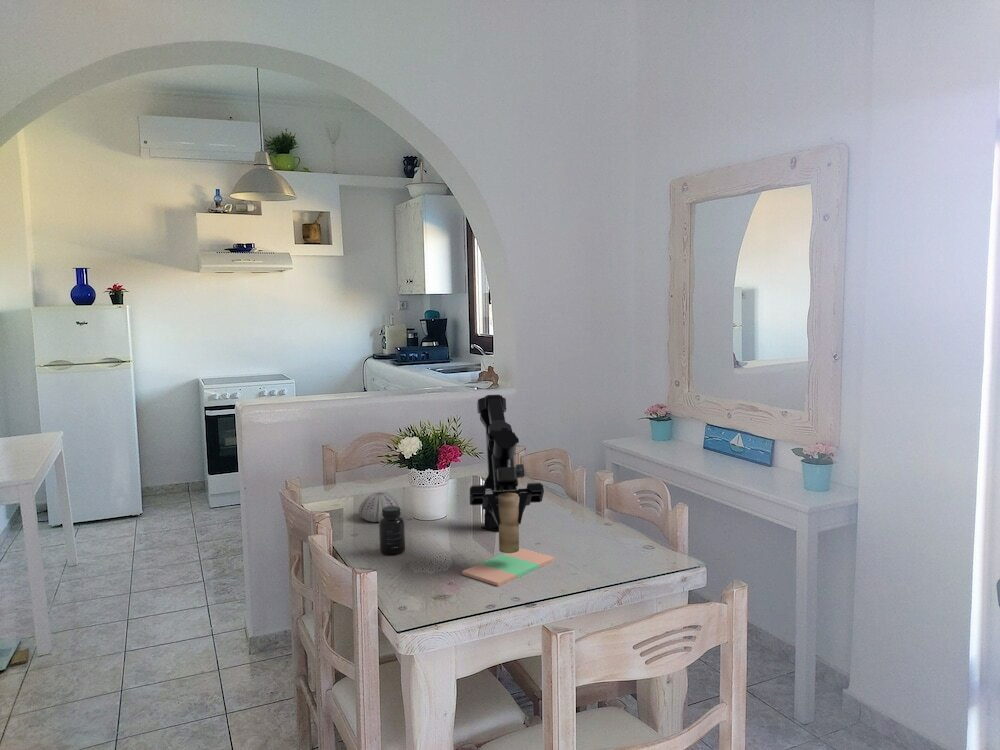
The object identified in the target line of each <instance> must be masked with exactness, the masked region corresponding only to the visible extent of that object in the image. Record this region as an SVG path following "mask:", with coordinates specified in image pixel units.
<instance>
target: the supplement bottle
mask: <svg viewBox="0 0 1000 750" xmlns="http://www.w3.org/2000/svg"><path fill="white" fill-rule="evenodd" d="M401 515H402V511H401V512H400V507H397V506H388V507H384V508H383V509H382V516H383V518H381V519H380V521H379V522H378V534H379V536H378V537H379V538H378V539H379V552H380V553H381V555H384V556H391V557H392V556H398V555H400V554H403V553H404V552H405V551H406V531H405V530H406V528H405V519H404V518H403V517H402V516H401Z"/></svg>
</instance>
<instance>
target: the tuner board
mask: <svg viewBox="0 0 1000 750" xmlns="http://www.w3.org/2000/svg"><path fill="white" fill-rule="evenodd" d="M555 560H556V557H554V556H552V555H549V554H544V553H541V552H540V553H539V552H538V551H537V552H536V551H532V550H529V549H525V548H521V547H519V551H518V552H515V553H503V554H500V555H498V556H496V557H495V556H494V557H492V558H490V559H488V560H485V561H483V562H480V563H478V564H475V565H474V566H471V567H469V568H468V567H467V568H466V569H464V570H461V575H462V576H463V575H464V576H466V577H469V578H472V579H474V580H475V579H476V580H477V581H481V582H484V583H488V584H491V585H494V586H497V587H500V586H502V585H504V584H507V583H508V582H509V583H510V582H511V581H512V580H515V579H517V578H519V577H522V576H525V575H526V574H528V573H531V572H532V571H535V570H537V569H539V568H541V567H543V566H545V565H548V564H550V563H552V562H555Z"/></svg>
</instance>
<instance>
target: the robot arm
mask: <svg viewBox="0 0 1000 750" xmlns="http://www.w3.org/2000/svg"><path fill="white" fill-rule="evenodd" d="M506 398H507V397H503V395H501V394H487V395H484V397H481V398H478V399H477V403H476V411H477V414H479V420H480V422H481V423H482V425H483V426H484V428H485V443H486V445H485V446H486V460H487V463H486V464H487V477H486V478H485V481H484V483H483V484H481V485H479V484H477V485H476V484H475V485H471V486H470V487H469V495H468V496H469V505H470V506H481V508H482V510H484V518H483V519H484V524H482V525H481V527H480V528H482V529H486V530H489V531H493V532H499V510H498V495H499V494H501V493H516V494H518V508H519V525H521V524H522V519H523V516H524V511H525V510H526V507H528V506H530V505H531V503H532V504H533V503H534V504H535V503H541V502H543V497H544V493H545V490H544V485H543V484H542V483H541V482H528V483H527V485H526V488H518V486H519V480H518V479H523V478H525V474H526V473H525V466H524V465H525V464H523V463H522V464H521V463H520V464H516V465H515V461H514V460H515V459H514V457H515V455H516V449H517V445H518V444H519V443H520V440H519V437H518V436H517V435H516V432H514V431H513V428H512V426H511V424H510V423H508V422H507V421H506V418H505V413H506V411H507V399H506Z"/></svg>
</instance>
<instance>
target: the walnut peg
mask: <svg viewBox="0 0 1000 750" xmlns="http://www.w3.org/2000/svg"><path fill="white" fill-rule="evenodd" d="M518 505H519V497H518V494H516V493H501V494H499V495H498V510H499V531H498V550H499V552H500V553H503V554H505V553H515V552H518V551H519V548H520V531H519V530H520V526H519V525H520V524H519V508H518Z"/></svg>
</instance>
